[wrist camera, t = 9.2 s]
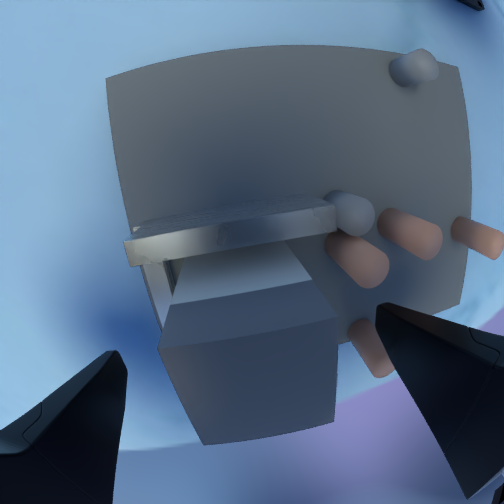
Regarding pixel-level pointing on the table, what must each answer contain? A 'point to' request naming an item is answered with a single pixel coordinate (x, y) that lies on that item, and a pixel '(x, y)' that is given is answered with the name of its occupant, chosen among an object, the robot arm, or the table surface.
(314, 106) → the mat
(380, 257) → the pegs
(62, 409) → the robot arm
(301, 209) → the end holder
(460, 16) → the table surface
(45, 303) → the table surface
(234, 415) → the block
